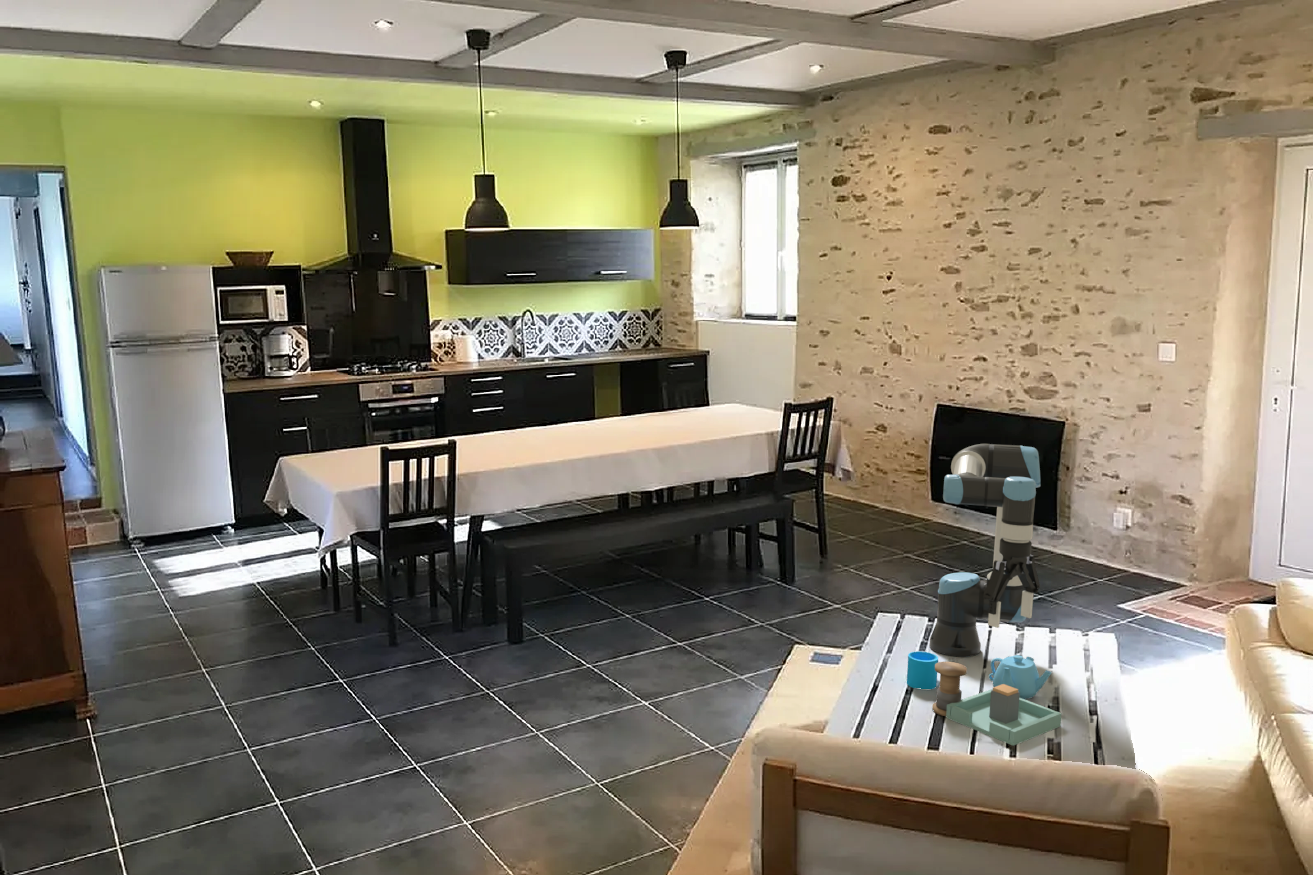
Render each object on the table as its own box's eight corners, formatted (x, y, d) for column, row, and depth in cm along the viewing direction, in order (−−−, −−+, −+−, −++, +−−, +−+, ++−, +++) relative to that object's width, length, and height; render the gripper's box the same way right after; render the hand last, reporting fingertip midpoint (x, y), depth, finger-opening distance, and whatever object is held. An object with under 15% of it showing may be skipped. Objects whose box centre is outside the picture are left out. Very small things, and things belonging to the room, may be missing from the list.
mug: (927, 692, 287) (929, 663, 286) (901, 684, 292) (902, 656, 291) (948, 681, 296) (950, 653, 294) (922, 673, 301) (924, 646, 300)
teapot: (1052, 707, 278) (1055, 666, 276) (1001, 707, 278) (1004, 666, 276) (1030, 685, 293) (1033, 646, 292) (981, 685, 293) (984, 646, 291)
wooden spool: (945, 702, 280) (948, 659, 278) (970, 712, 274) (973, 668, 272) (925, 709, 275) (928, 665, 273) (950, 719, 269) (953, 674, 267)
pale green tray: (993, 700, 282) (994, 688, 281) (1060, 726, 266) (1061, 713, 266) (946, 717, 270) (946, 704, 270) (1013, 745, 254) (1014, 732, 254)
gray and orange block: (1017, 719, 267) (1020, 689, 266) (1006, 724, 264) (1008, 693, 263) (1001, 712, 271) (1003, 683, 270) (989, 717, 268) (991, 687, 267)
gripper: (1032, 530, 271) (1026, 609, 274) (972, 542, 257) (966, 626, 260) (1058, 535, 265) (1052, 616, 269) (998, 549, 251) (992, 634, 254)
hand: (1010, 621), depth 264 cm, fingers open, 13 cm apart
